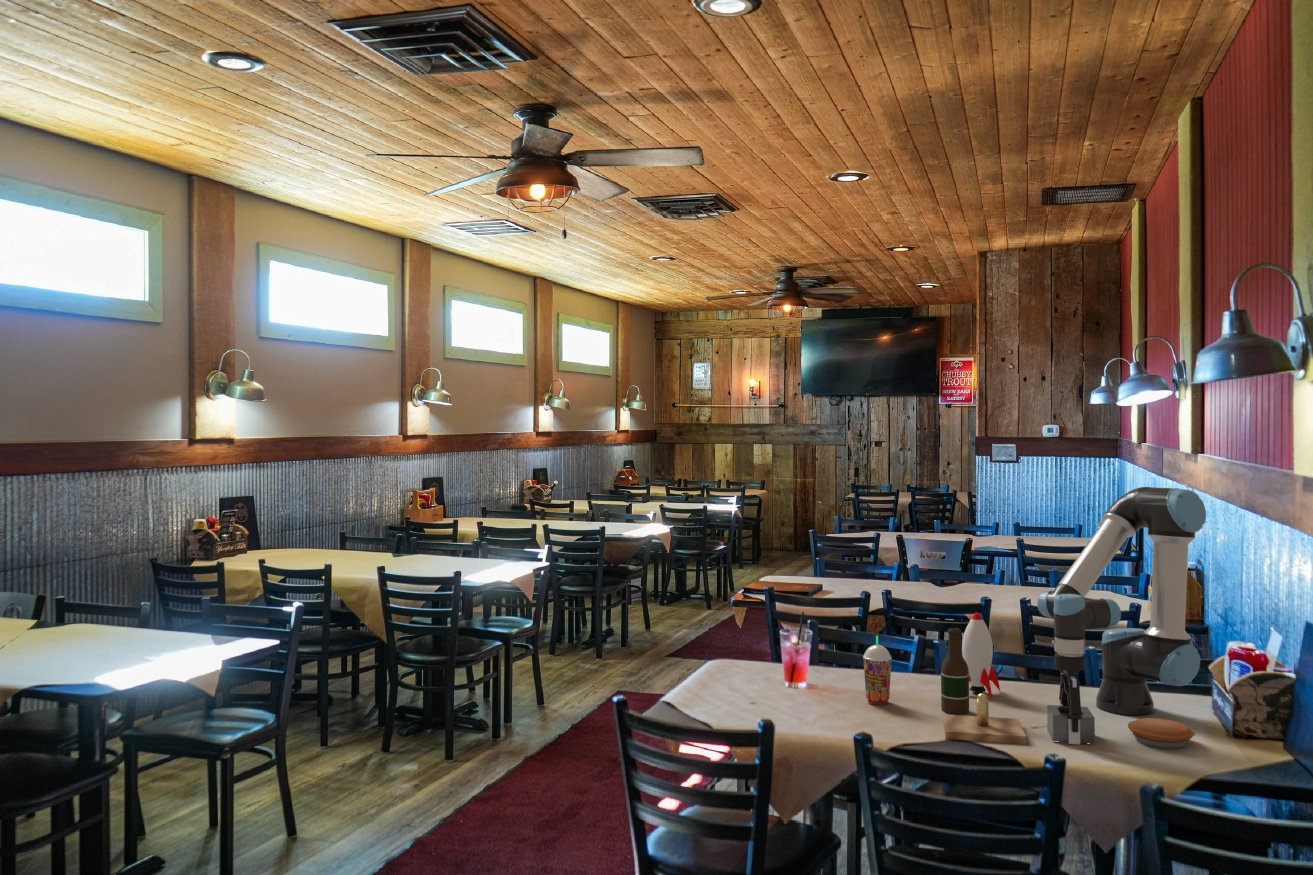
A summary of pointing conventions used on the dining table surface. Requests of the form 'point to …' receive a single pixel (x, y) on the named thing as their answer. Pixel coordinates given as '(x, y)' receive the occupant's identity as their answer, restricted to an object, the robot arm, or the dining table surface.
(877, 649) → the smoothie
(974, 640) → the rocket
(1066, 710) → the grey square socket block
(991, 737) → the board
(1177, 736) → the pie
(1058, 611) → the robot arm
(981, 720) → the post
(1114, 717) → the dining table surface
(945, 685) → the beer bottle
